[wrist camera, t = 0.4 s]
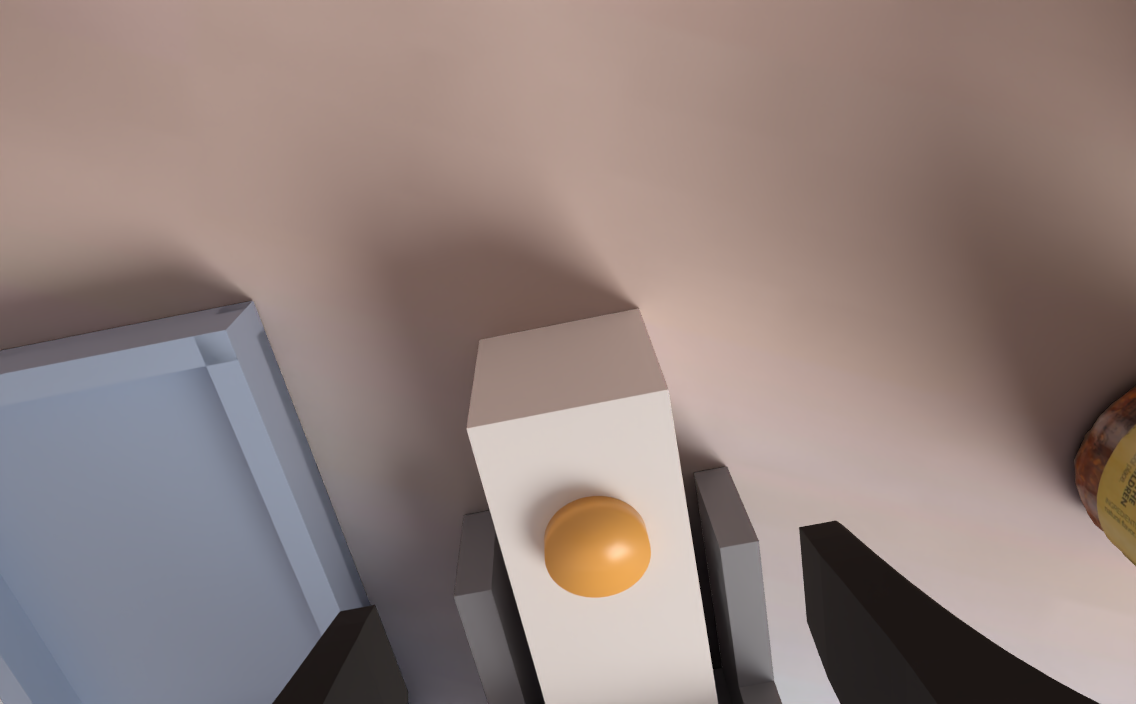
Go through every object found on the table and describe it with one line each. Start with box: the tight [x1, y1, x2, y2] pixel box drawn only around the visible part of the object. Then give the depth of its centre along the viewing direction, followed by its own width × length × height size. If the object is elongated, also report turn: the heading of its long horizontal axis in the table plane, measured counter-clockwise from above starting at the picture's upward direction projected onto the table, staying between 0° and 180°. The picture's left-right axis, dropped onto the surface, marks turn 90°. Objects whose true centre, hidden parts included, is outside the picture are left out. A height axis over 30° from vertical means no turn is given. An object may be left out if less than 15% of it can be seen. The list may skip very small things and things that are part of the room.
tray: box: [0, 301, 408, 704], centre depth 23 cm, size 16×11×2 cm
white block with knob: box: [466, 308, 718, 704], centre depth 21 cm, size 10×4×6 cm, turn 11°
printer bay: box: [454, 467, 782, 704], centre depth 22 cm, size 9×8×6 cm
